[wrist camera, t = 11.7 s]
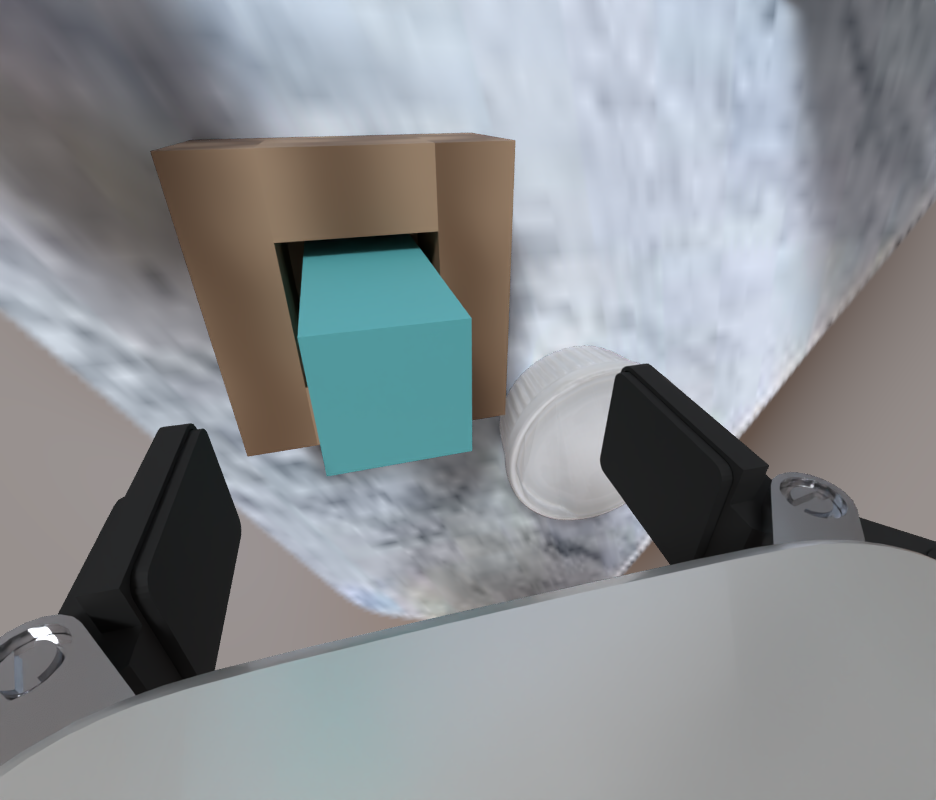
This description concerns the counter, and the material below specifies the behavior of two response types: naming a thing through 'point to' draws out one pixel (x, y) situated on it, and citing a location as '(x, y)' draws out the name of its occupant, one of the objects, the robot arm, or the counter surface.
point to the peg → (383, 353)
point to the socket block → (330, 217)
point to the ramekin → (562, 433)
